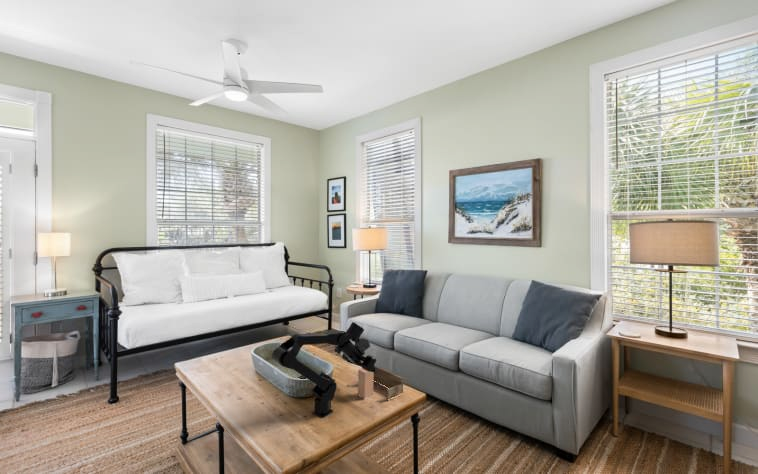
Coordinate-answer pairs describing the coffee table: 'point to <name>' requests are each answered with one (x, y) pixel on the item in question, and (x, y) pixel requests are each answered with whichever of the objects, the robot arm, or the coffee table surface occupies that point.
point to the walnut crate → (389, 381)
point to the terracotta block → (365, 383)
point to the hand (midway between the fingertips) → (368, 368)
